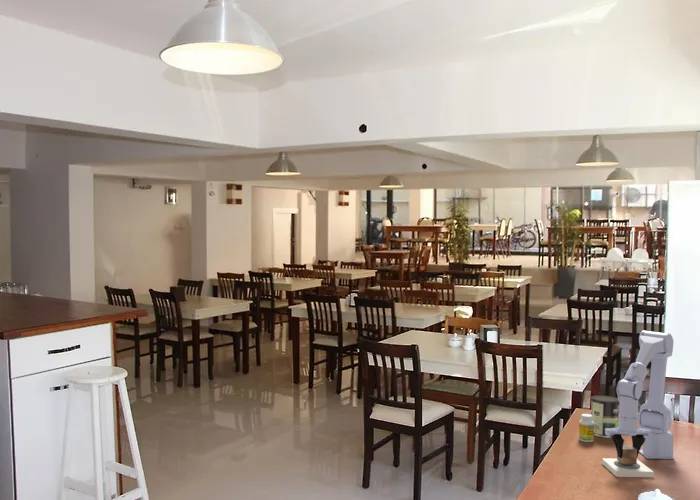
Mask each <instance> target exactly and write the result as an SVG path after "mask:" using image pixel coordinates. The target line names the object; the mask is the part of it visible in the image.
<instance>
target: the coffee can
mask: <svg viewBox="0 0 700 500" xmlns="http://www.w3.org/2000/svg"><path fill="white" fill-rule="evenodd" d="M590 400H591V401H590V407H591V408H590V415H592V421H593V422H594V437H597V438H598V437H599V438H604V439H605V438H606V439H612V437H611V435H610V436H607V435H606V434H605V428H617V427H619V401H618V397H614V396H610V395H602V394H600V395H599V394H597V395H595V394H594V395H592V396H590Z"/></svg>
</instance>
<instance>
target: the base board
mask: <svg viewBox="0 0 700 500" xmlns="http://www.w3.org/2000/svg"><path fill="white" fill-rule="evenodd" d="M601 464H602V465H603V466H604V467H605V468H606V469H607V470H608V471H609V472H610V473H611V474H613V475H614V477H616V478H654V476H655V475H654V474H655V473H654V470H652V469H651V468H650V467H648V466H647V465H645V463H643V462H642V461H640V459H638V458H637V465H636V464H622V463H621V462H619V461H618V460H617V458H612V457H611V458H604V457H602V458H601Z"/></svg>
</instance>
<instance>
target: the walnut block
mask: <svg viewBox="0 0 700 500" xmlns="http://www.w3.org/2000/svg"><path fill="white" fill-rule="evenodd" d="M616 455H617V454H616ZM616 459H617V460H618V461H619V462H621V463H622V464H636V465H637V459H638V457H637V449H636V448H634V447H633V444H623V454H622V458H619V457H618V455H617V456H616Z"/></svg>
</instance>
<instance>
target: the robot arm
mask: <svg viewBox="0 0 700 500" xmlns="http://www.w3.org/2000/svg"><path fill="white" fill-rule="evenodd" d="M638 344H639V348H640V349H639V351H638V354H637V357H636V359H635V362H632V363H631V364H630V365H629V367H628V369H627V371H626V373H625V375H624V377H623V379H621V380H619V381H618V382H617V384H616V389H615V390H616V395H617V398H618V401H619V418H618V427H617V428H605V434H606V435H607V436H610V435H611V437H612V438H611V439H612V440H613V444H614V446H615V449H616V453H617V454H616V455H618V457H619V458H622V454H623V445H624V442H625V439H624V438H623V436H627V437H628V436H630V437H631V441H632V444H631V445H632V446H633V447H634V448H636V449H637V458H638V457H639V454H641V455H642V456H643V457H645V458H646V459H650V460H651V459H655V460H656V459H660V460H661V459H662V460H675V457H674V444H675V443H674V436H673V433H672V432H671V431H670V430H671V427H672V422H673V421H672V411H671V409H669V407H667V406H666V405H665V404H664V396H665V385H666V374H667V365H668V364H667V362H668V358H670V357H672V356H673V351H674V338H673V335H672V334H671V333H669V332H668V333H667V332H666V333H665V332H657V331H650V330H646V329H645V330H644V329H643V330H642V331H641V332H640V333H639V336H638ZM650 362H651V363H650ZM649 363H650V364H651V366H650V376H649V387H648V399H647V402H645V403H642V405H640V407H639V399H640V398H641V396H642V393H643V388H644V385H643V383H644V381H645V379H646V376H647V374H648V372H649V370H648V368H647V366H648V365H649Z"/></svg>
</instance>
